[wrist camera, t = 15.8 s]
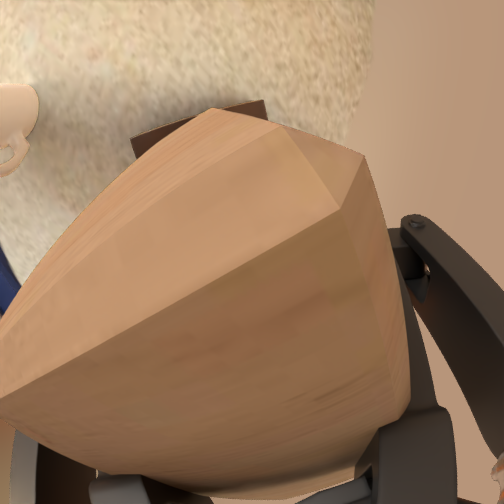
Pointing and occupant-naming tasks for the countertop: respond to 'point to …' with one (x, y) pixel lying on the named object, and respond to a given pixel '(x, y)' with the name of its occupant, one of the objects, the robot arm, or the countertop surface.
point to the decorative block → (216, 318)
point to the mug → (16, 121)
